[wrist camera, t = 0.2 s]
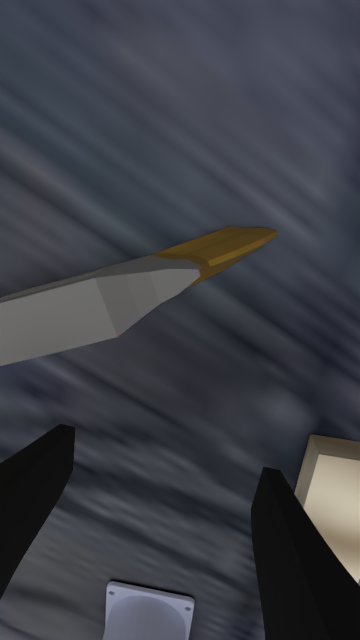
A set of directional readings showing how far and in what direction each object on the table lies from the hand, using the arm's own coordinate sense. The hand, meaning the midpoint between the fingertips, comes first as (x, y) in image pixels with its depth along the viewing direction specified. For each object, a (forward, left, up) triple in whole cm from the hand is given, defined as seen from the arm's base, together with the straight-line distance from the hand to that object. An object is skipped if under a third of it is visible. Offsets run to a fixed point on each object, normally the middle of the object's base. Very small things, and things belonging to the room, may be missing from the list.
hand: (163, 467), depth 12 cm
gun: (+3, +9, -10) cm, 14 cm away
